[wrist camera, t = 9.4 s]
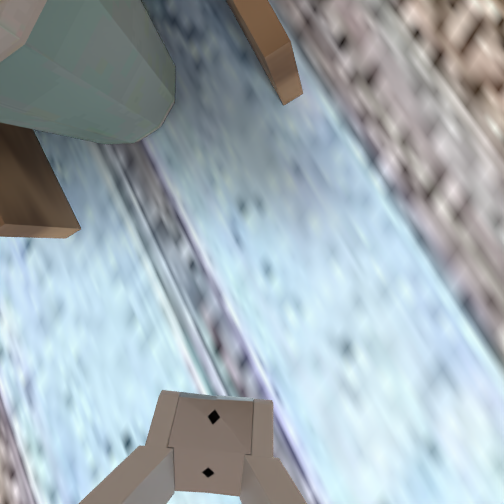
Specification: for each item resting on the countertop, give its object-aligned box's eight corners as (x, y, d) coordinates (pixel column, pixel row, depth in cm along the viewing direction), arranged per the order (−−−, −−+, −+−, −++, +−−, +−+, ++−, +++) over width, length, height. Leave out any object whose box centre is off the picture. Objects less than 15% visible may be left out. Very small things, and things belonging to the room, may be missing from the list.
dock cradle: (303, 93, 23) (286, 25, 16) (65, 238, 26) (-37, 235, 19) (192, -105, 24) (131, -251, 17) (-23, 56, 27) (-151, -11, 20)
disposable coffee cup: (68, 197, 26) (-287, 133, 11) (30, 29, 26) (-360, -245, 12) (232, 148, 24) (58, -11, 9) (188, -35, 24) (-45, -467, 10)
